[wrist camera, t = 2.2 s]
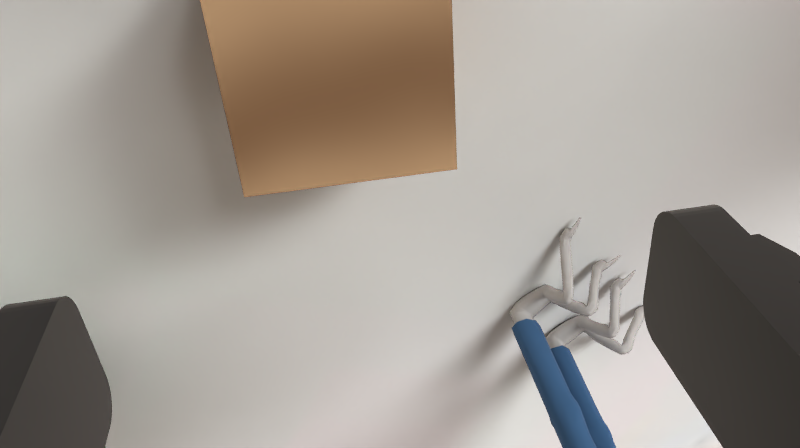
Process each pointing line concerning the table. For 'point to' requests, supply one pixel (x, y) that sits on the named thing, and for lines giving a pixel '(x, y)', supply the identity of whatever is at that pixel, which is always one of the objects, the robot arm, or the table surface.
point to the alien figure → (554, 363)
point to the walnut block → (334, 89)
